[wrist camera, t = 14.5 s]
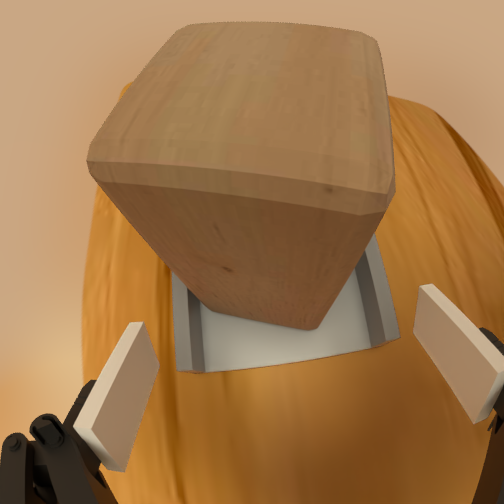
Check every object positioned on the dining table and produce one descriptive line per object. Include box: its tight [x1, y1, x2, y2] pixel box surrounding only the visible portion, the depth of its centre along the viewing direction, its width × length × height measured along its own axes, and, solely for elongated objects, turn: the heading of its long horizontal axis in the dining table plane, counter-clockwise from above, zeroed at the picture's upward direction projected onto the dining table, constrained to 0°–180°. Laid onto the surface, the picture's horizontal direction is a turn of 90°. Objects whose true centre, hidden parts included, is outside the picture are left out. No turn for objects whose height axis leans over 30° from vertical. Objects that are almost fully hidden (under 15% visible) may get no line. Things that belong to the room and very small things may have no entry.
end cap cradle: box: [172, 233, 401, 374], centre depth 26 cm, size 16×16×5 cm
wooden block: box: [87, 22, 396, 330], centre depth 19 cm, size 10×10×20 cm
